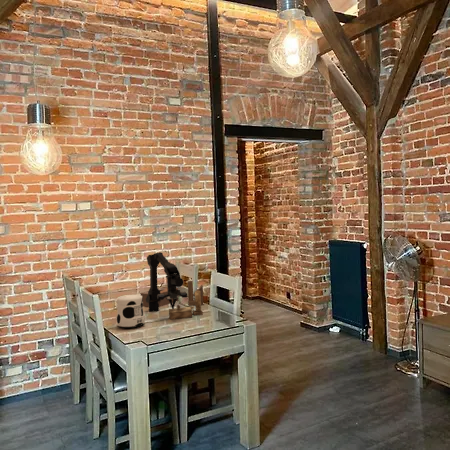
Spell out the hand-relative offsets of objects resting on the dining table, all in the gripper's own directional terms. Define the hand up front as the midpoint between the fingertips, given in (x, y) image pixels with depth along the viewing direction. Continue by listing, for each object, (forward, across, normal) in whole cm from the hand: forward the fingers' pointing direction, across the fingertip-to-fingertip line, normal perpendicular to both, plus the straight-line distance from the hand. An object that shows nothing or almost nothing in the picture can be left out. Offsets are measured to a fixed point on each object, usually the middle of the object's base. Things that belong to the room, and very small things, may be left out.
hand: (172, 308), depth 288 cm
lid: (+1, +6, 0) cm, 6 cm away
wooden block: (+6, +21, +31) cm, 37 cm away
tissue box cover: (+6, -3, +48) cm, 48 cm away
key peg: (+6, +19, +11) cm, 22 cm away
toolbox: (+6, +9, +2) cm, 11 cm away
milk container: (+6, -27, -8) cm, 29 cm away
